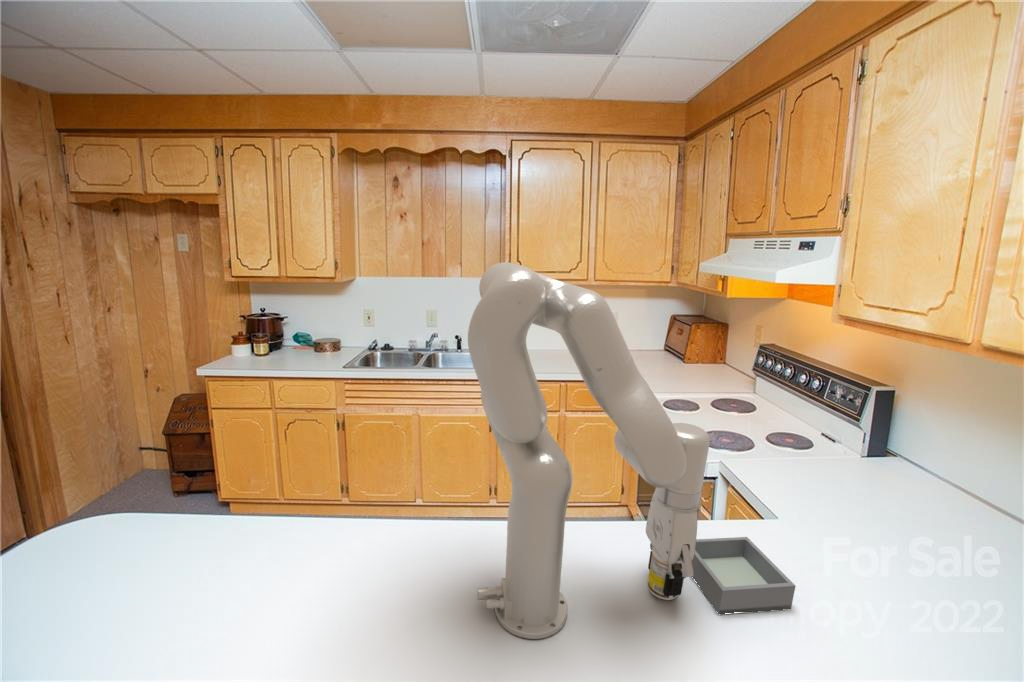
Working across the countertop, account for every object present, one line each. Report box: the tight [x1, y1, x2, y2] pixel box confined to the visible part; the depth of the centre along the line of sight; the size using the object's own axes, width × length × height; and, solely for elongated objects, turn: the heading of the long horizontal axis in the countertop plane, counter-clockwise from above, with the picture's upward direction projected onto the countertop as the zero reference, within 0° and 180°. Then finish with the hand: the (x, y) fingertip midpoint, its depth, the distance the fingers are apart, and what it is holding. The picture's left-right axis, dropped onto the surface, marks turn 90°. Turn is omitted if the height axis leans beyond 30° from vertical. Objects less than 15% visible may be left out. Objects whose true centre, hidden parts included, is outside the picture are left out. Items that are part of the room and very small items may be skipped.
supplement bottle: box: [647, 547, 680, 601], centre depth 86 cm, size 6×6×10 cm
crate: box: [691, 536, 796, 615], centre depth 90 cm, size 14×14×5 cm
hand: (663, 580), depth 87 cm, fingers closed on supplement bottle, 5 cm apart
